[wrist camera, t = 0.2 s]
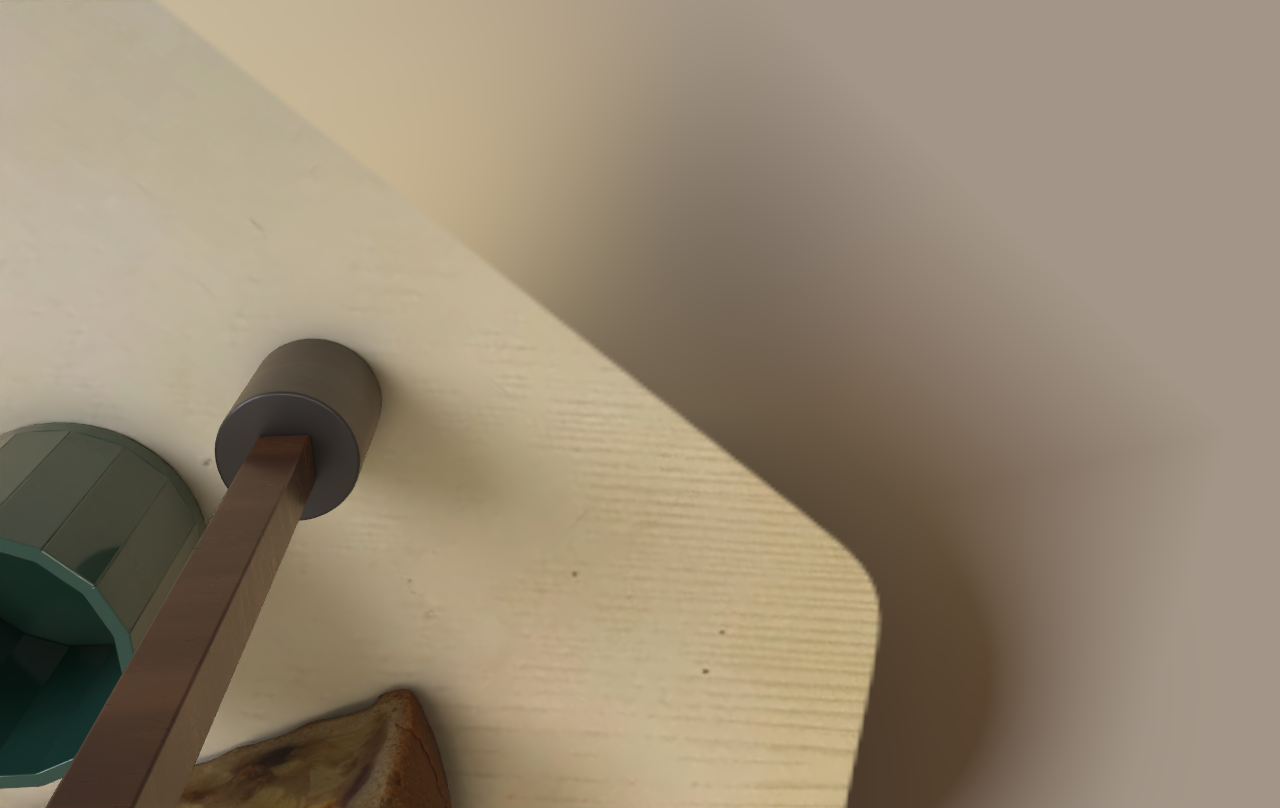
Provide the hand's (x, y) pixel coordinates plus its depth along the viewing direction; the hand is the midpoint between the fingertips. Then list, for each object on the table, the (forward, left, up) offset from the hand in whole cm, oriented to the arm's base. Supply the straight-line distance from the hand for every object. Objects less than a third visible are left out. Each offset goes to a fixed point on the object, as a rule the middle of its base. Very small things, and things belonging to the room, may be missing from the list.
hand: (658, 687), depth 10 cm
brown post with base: (+9, -10, -31) cm, 33 cm away
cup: (+14, -19, -31) cm, 39 cm away
